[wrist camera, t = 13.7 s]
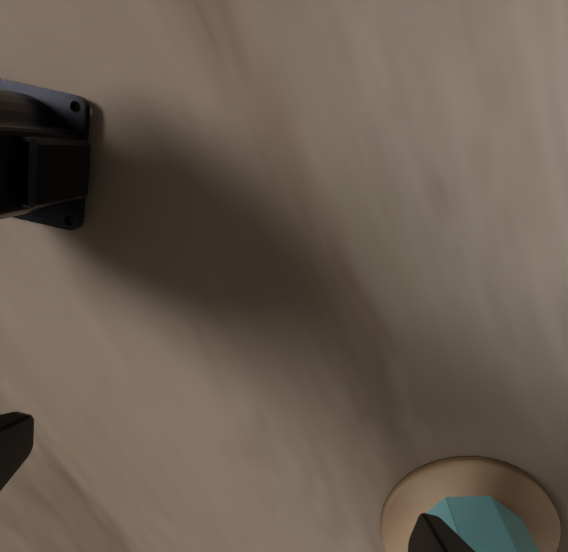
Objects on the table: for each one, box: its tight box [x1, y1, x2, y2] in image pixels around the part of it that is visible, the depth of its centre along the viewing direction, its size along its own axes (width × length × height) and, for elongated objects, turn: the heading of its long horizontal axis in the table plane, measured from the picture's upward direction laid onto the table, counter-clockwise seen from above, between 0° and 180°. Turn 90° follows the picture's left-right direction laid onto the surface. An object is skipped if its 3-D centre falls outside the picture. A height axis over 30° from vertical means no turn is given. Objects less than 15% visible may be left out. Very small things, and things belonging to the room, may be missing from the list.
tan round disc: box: [381, 456, 561, 552], centre depth 25 cm, size 10×10×1 cm
